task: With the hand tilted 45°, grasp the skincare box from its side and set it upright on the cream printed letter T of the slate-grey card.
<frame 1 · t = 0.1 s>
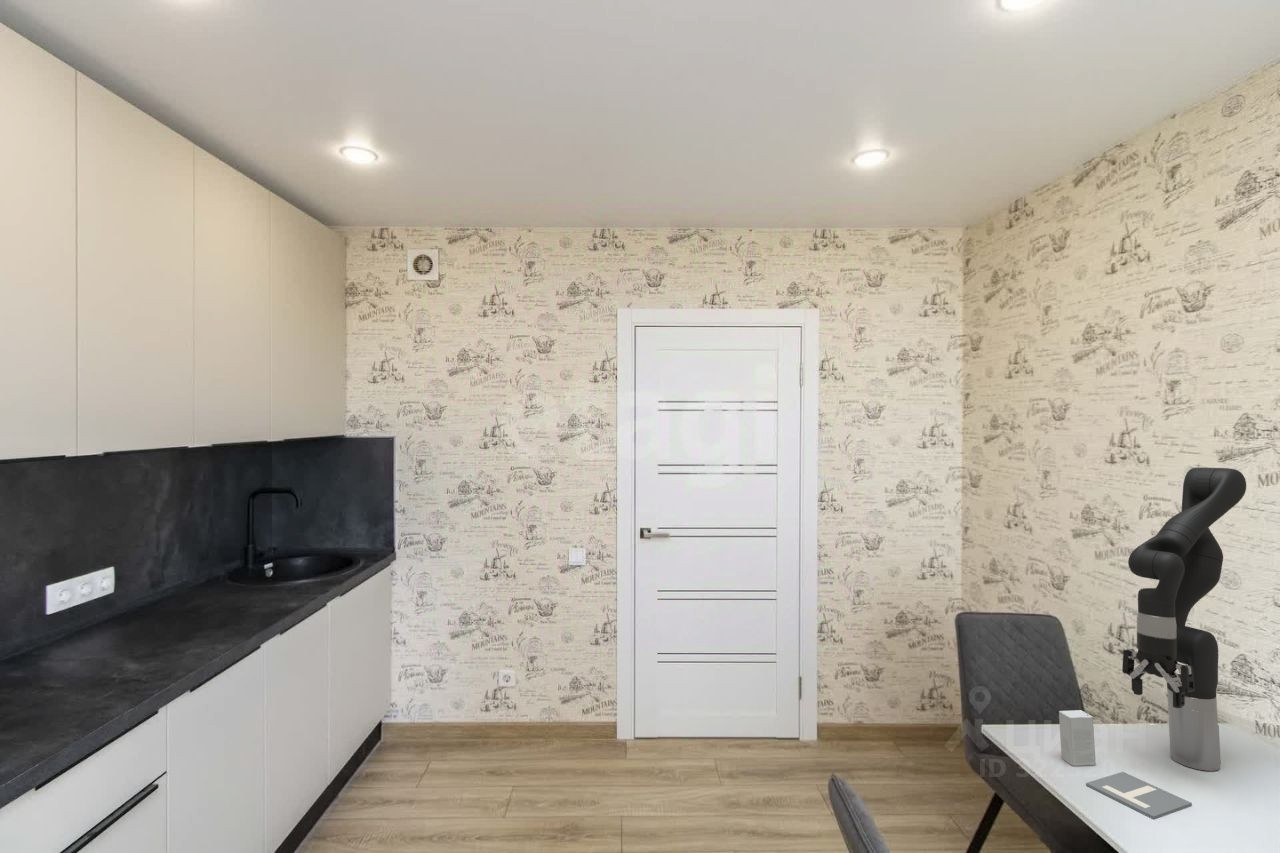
hand: (1157, 700, 149), 17 cm above the table, tool pointing down, fingers open, 8 cm apart
skincare box: (1078, 762, 154), on the table
letter card: (1137, 795, 139), on the table
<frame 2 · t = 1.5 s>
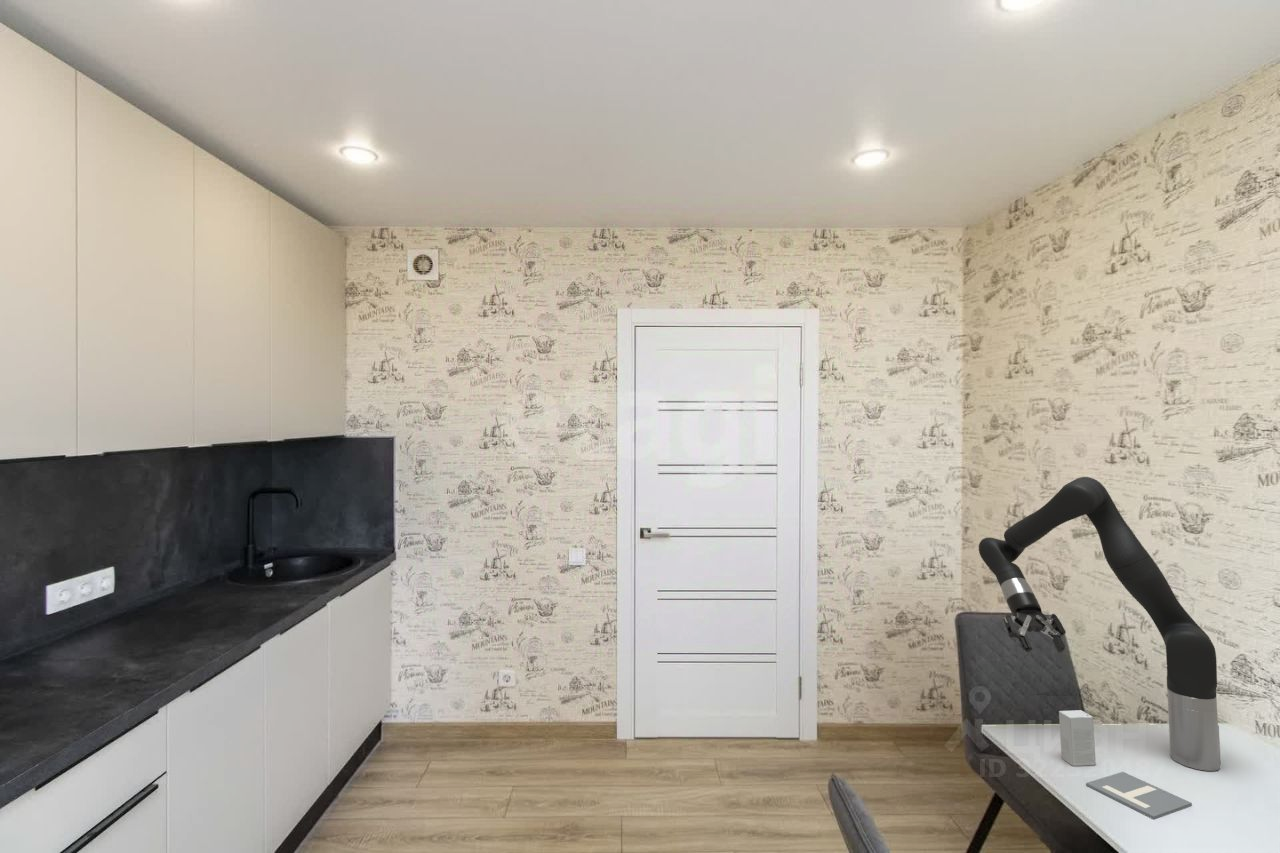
hand: (1045, 650, 167), 24 cm above the table, tool tilted 45°, fingers open, 8 cm apart
nothing on the table moved.
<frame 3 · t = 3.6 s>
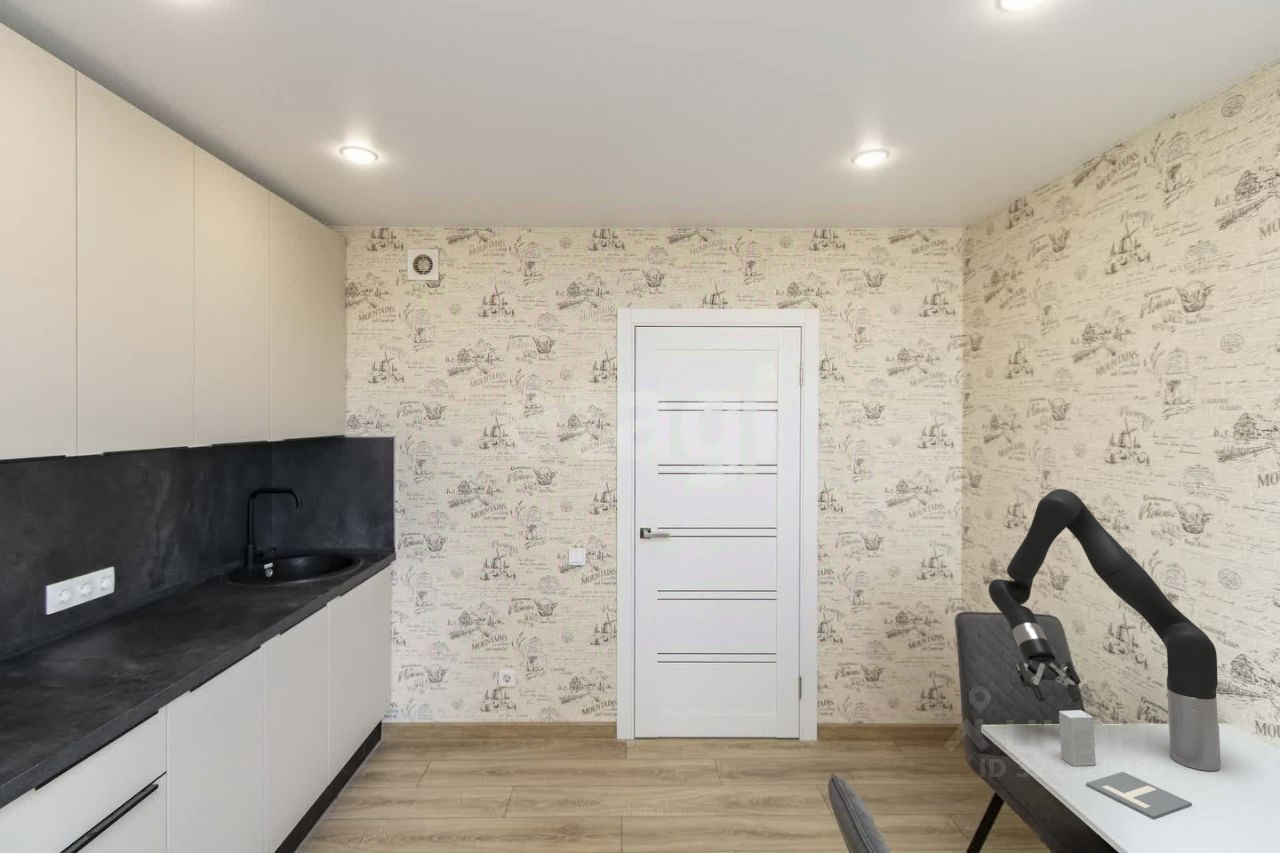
hand: (1060, 701, 161), 12 cm above the table, tool tilted 45°, fingers open, 8 cm apart
nothing on the table moved.
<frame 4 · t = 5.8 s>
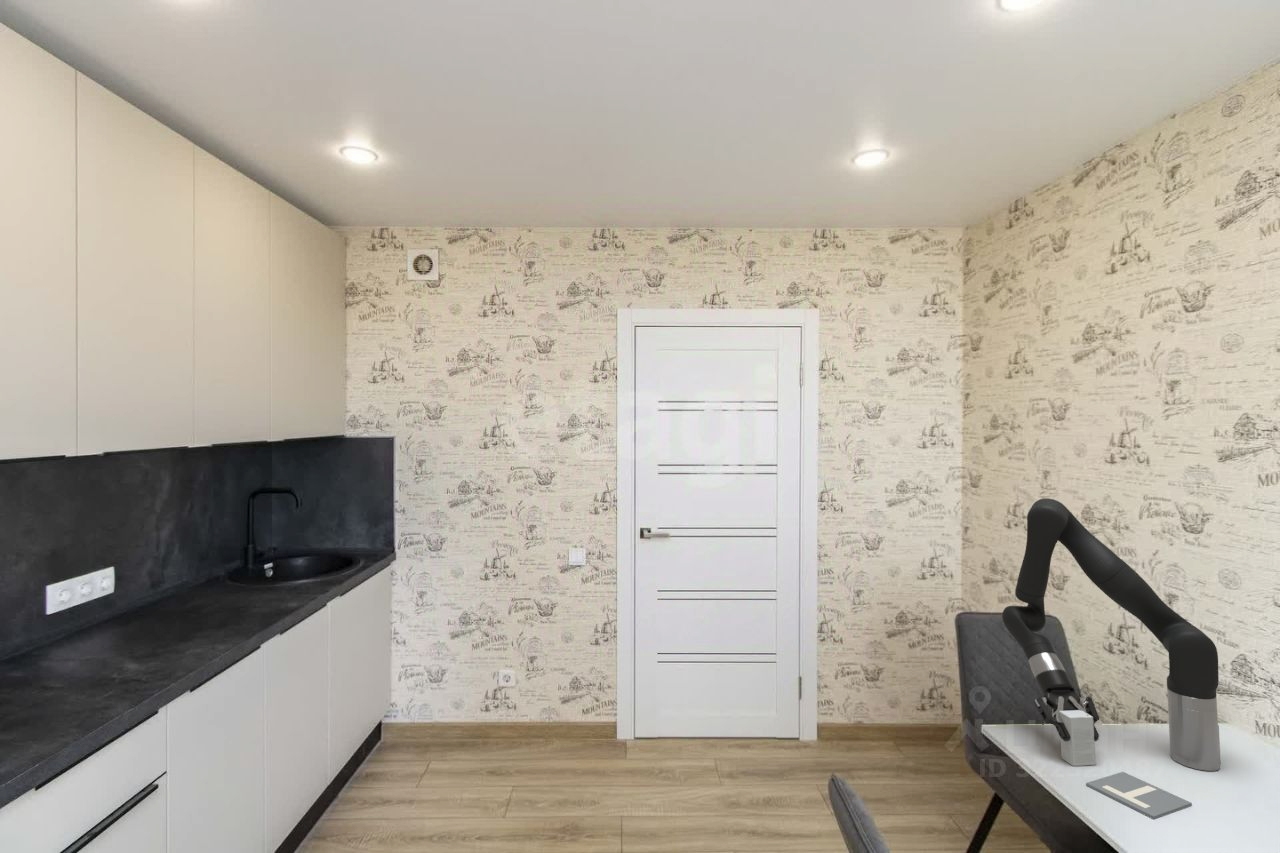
hand: (1081, 740, 153), 6 cm above the table, tool tilted 45°, fingers closed on skincare box, 6 cm apart
skincare box: (1078, 762, 154), on the table, touching gripper
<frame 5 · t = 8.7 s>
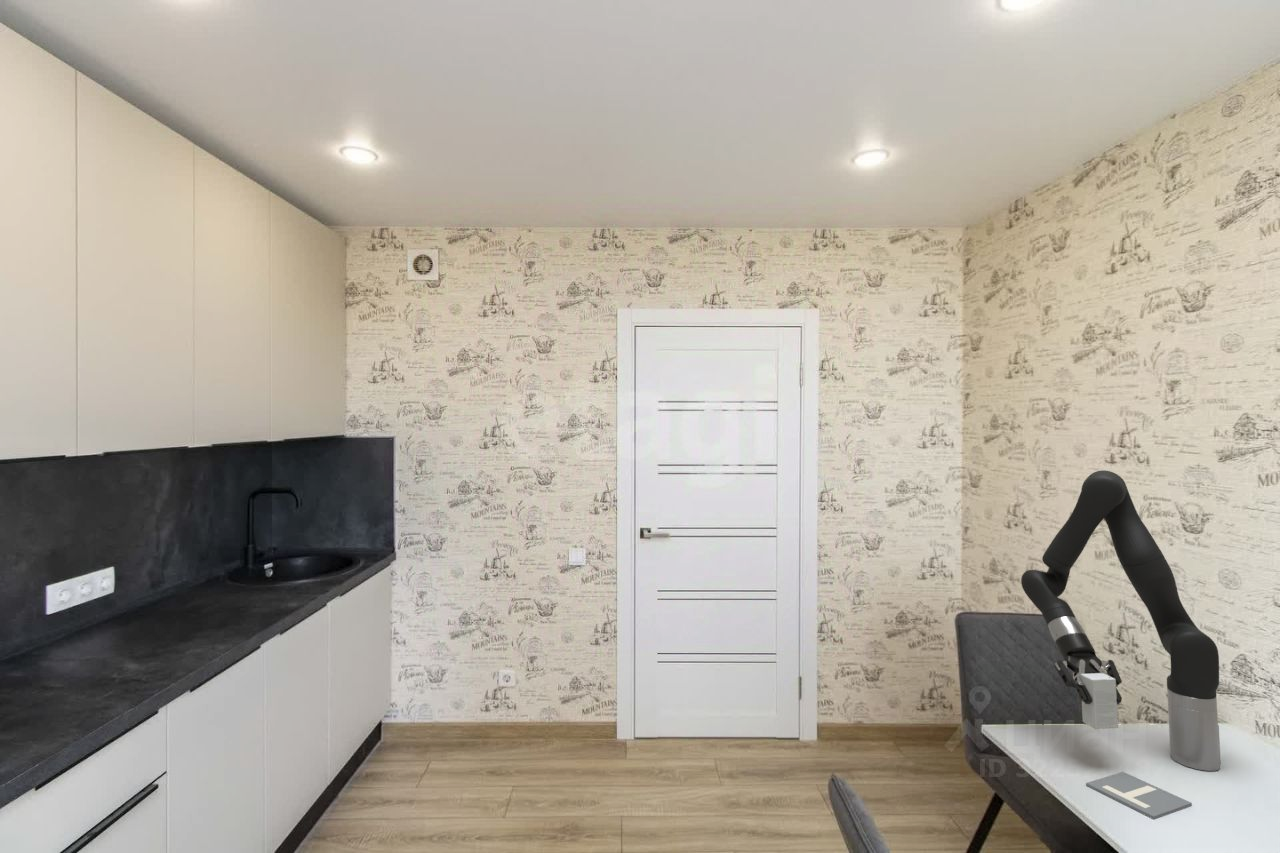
hand: (1103, 702, 150), 17 cm above the table, tool tilted 45°, fingers closed on skincare box, 6 cm apart
skincare box: (1099, 725, 151), point 10 cm above the table, touching gripper
when the fingers open (8 cm above the table, at t = 11.7 s): skincare box drops 1 cm, resting on letter card.
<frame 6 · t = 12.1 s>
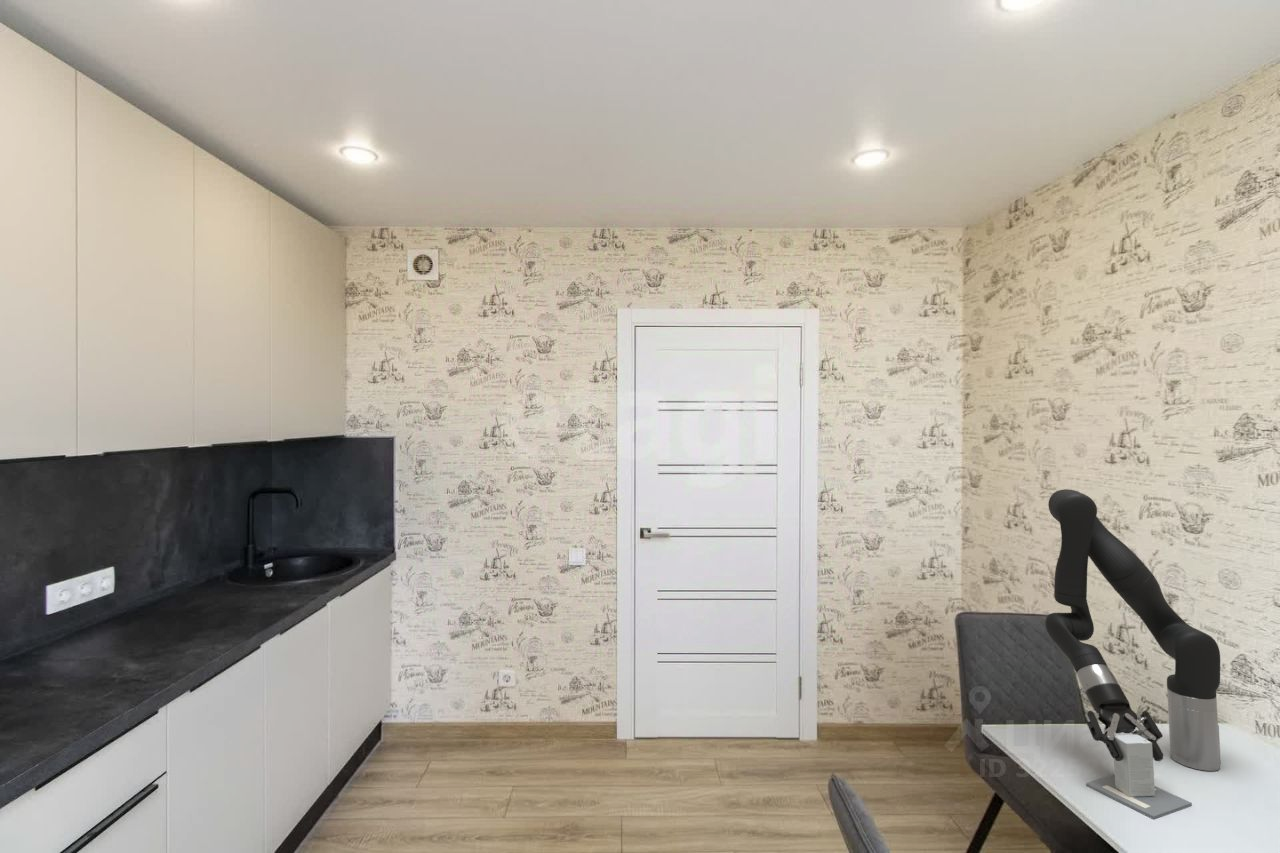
hand: (1140, 760, 138), 9 cm above the table, tool tilted 45°, fingers open, 8 cm apart
skincare box: (1134, 792, 140), resting on letter card
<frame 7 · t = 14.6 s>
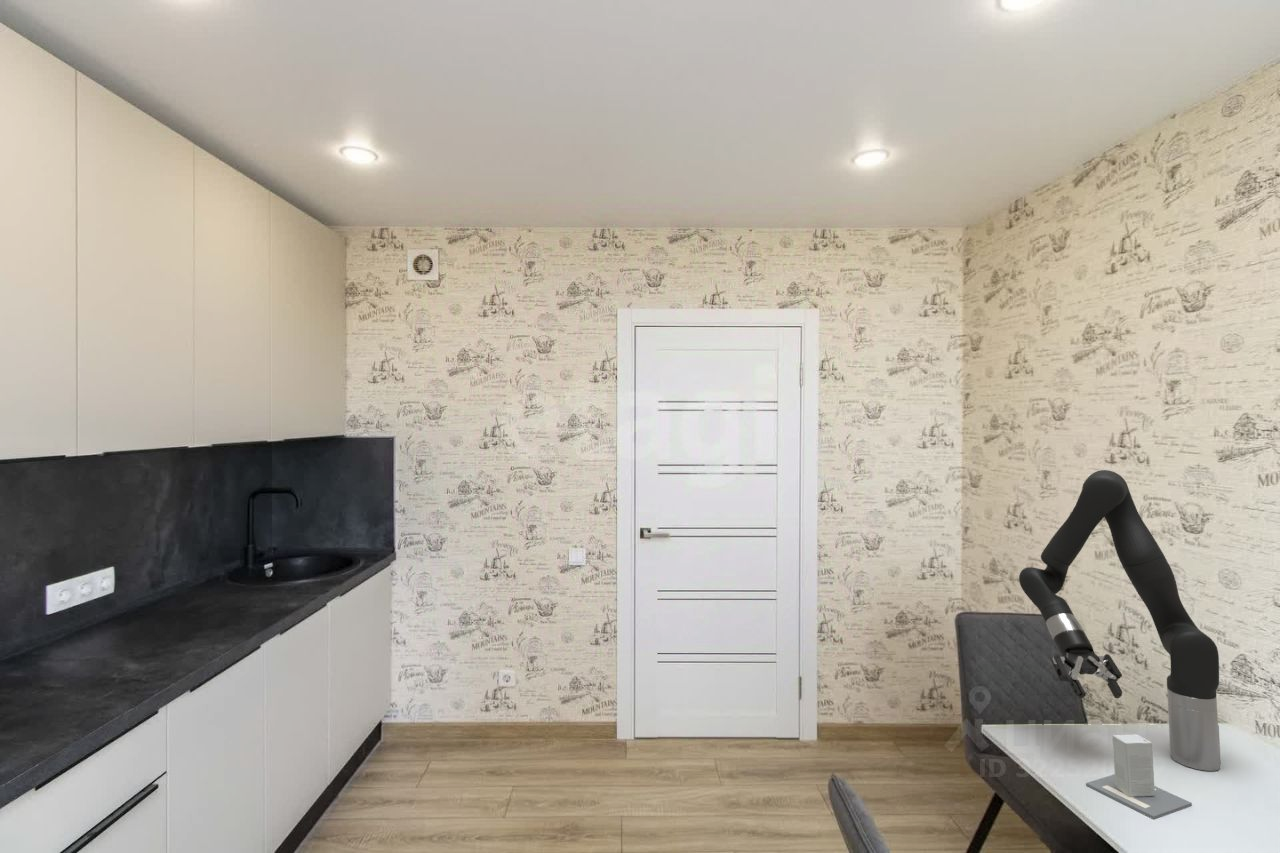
hand: (1100, 697, 150), 18 cm above the table, tool tilted 45°, fingers open, 8 cm apart
nothing on the table moved.
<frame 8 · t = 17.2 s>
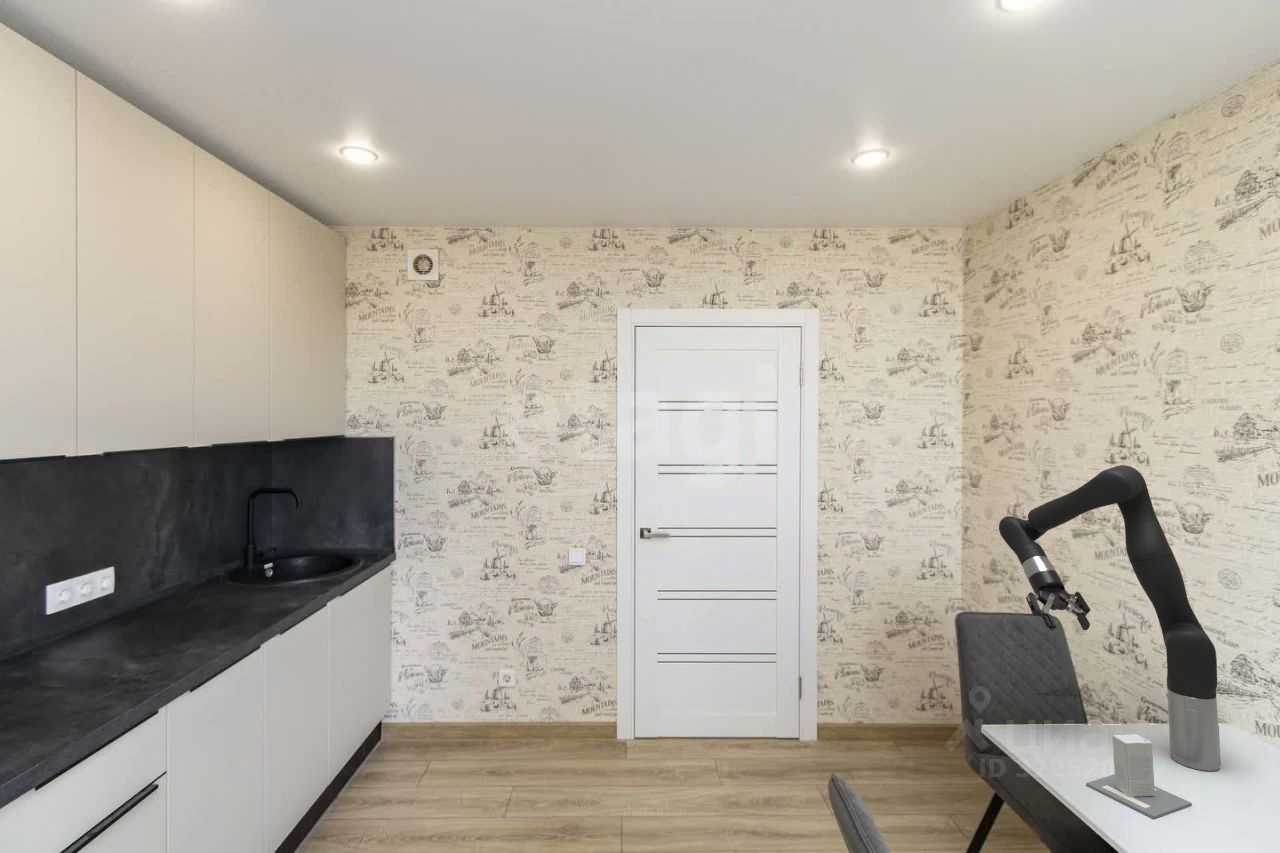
hand: (1070, 628, 163), 31 cm above the table, tool tilted 45°, fingers open, 8 cm apart
nothing on the table moved.
at the end: skincare box inside the target area on the letter card (0.5 cm from its centre), point 0.4 cm above the letter card's base; skincare box tilted 0°; the gripper is holding nothing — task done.
